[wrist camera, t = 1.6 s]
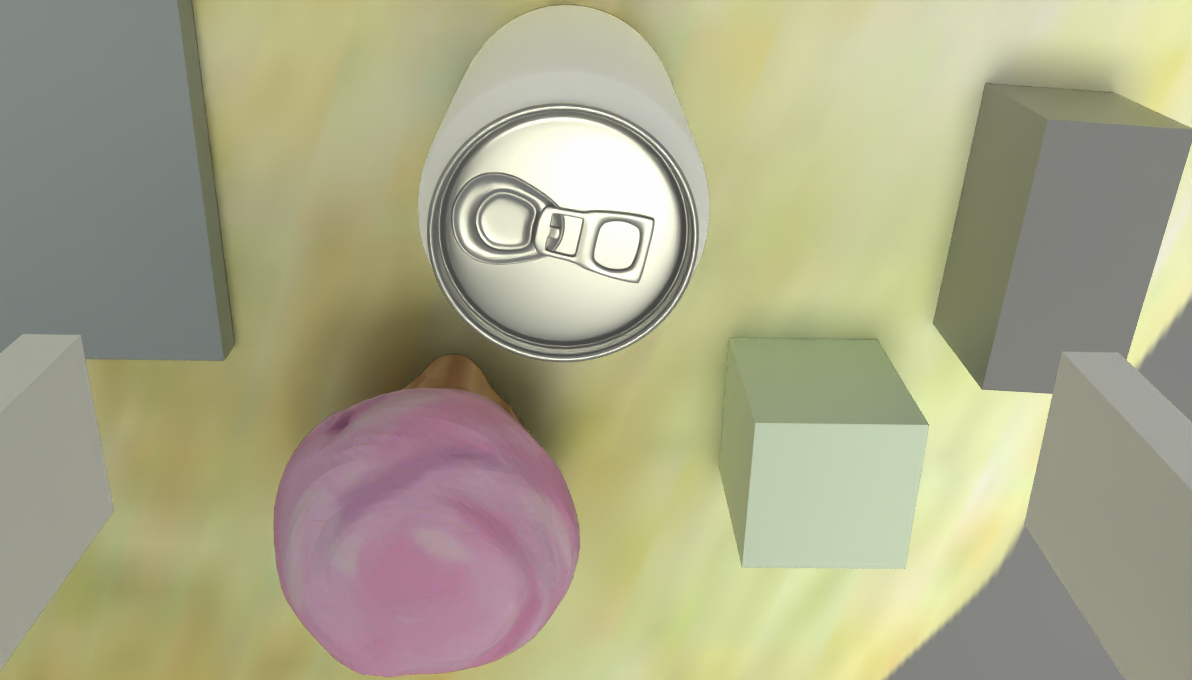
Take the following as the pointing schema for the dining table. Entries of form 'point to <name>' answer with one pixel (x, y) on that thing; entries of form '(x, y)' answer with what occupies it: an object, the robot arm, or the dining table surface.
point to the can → (564, 189)
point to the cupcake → (424, 528)
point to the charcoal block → (1056, 230)
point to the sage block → (819, 454)
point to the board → (108, 181)
